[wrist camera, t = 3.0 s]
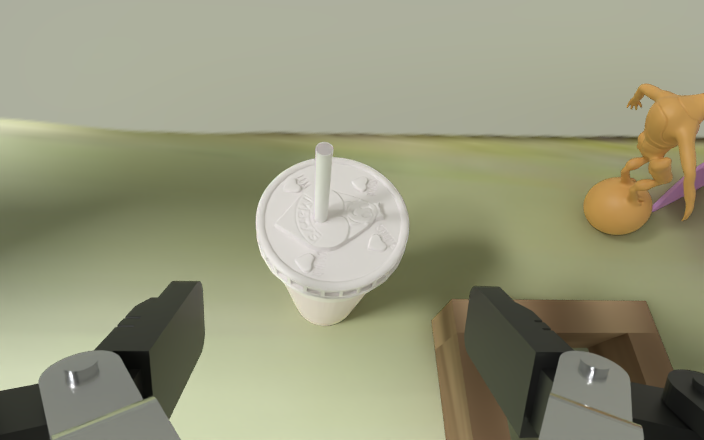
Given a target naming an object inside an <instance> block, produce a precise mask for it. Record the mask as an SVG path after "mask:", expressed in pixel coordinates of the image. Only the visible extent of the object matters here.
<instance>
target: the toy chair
mask: <svg viewBox="0 0 704 440" xmlns="http://www.w3.org/2000/svg"><path fill="white" fill-rule="evenodd" d="M683 180H684V177H682V178H681V179H680V180H679V181H678V182H677V183H676V184H674V185H673V186H672V187H671V188H670V189H669V190H668V191H667V192H666V193H665V194H664V195H663V196H662V197H661V198H659V199H658V200H657V201H656V202H655V203H654V204H653V205H652V212H654V211H656V210H658V209H660V208H662V207H664V206H666V205H668V204H670V203H672V202H674V201H676V200H678V199H680V198H681V197H683V196H684V187H683ZM694 185H695V190H697V189H699V188H701V187H703V186H704V163H702V164H700V165H699V166H697V167H696V179H695V183H694Z"/></svg>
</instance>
